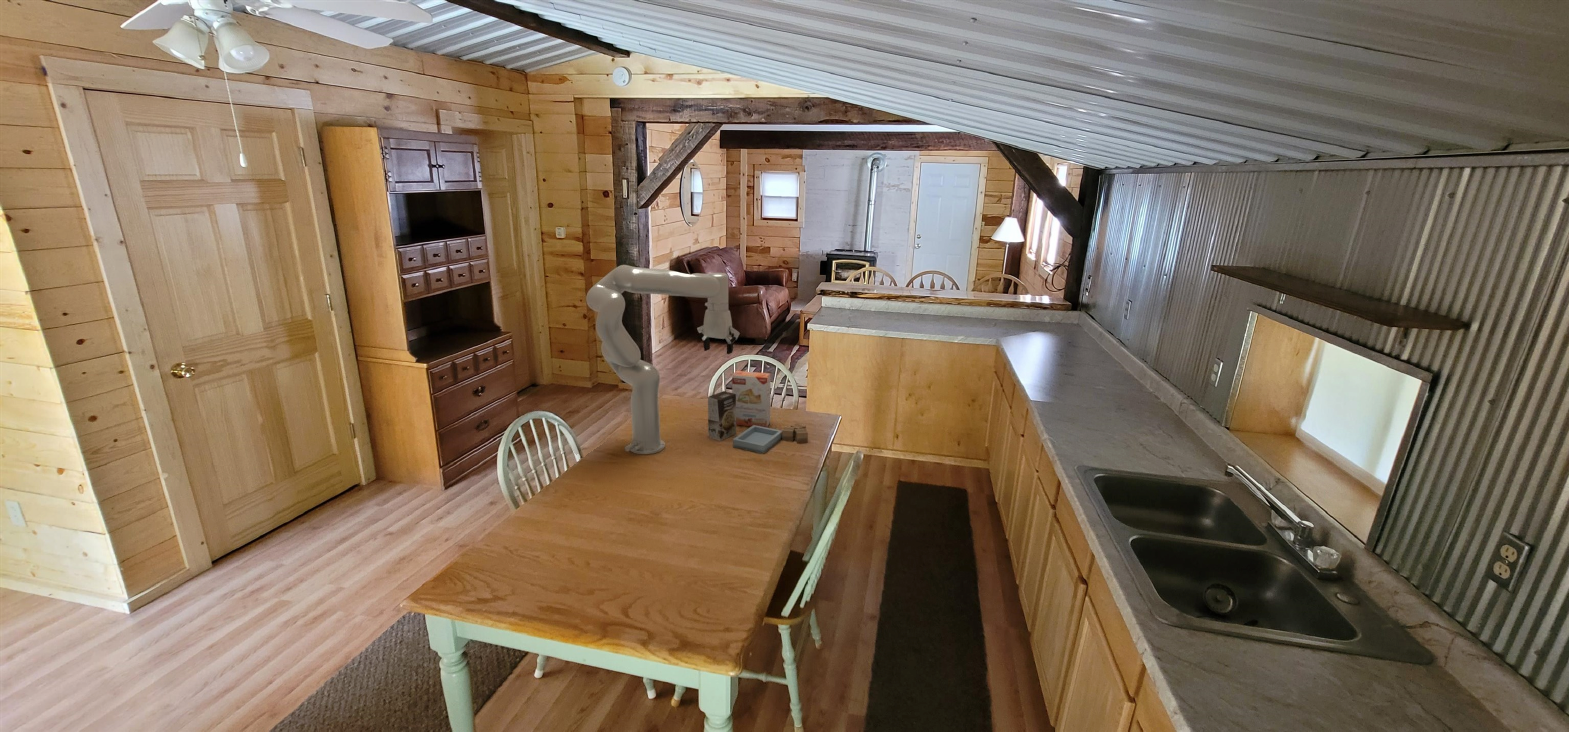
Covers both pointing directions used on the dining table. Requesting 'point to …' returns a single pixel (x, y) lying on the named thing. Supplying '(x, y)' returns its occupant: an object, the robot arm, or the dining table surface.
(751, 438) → the tray
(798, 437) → the walnut block
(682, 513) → the dining table surface
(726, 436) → the coffee box
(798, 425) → the walnut block
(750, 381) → the cracker box
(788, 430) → the walnut block
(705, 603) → the dining table surface
